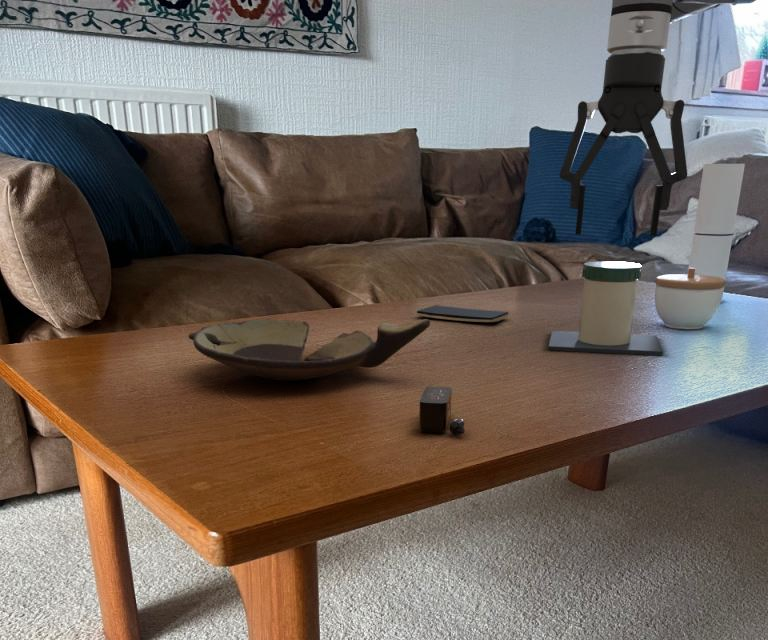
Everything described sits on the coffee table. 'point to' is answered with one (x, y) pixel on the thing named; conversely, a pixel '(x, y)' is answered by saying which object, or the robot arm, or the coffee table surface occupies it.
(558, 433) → the coffee table surface
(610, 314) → the jar
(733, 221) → the cylindrical container
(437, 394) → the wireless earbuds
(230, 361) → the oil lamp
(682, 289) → the trinket box
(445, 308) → the smartphone
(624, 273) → the lid
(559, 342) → the mat
